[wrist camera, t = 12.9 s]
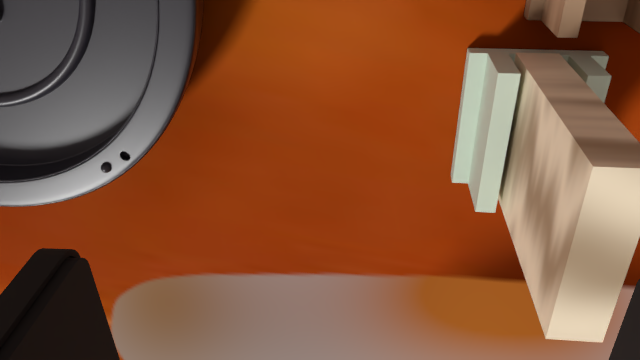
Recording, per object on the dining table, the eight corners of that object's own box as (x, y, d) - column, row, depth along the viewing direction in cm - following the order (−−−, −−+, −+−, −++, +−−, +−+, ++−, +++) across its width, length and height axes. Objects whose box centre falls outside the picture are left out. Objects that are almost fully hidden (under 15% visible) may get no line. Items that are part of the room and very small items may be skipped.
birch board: (515, 52, 33) (593, 166, 21) (559, 53, 33) (663, 169, 20) (493, 183, 37) (545, 339, 25) (531, 184, 37) (602, 342, 25)
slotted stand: (467, 47, 34) (478, 72, 30) (603, 50, 33) (632, 76, 29) (450, 175, 38) (458, 211, 35) (569, 180, 38) (591, 217, 34)
